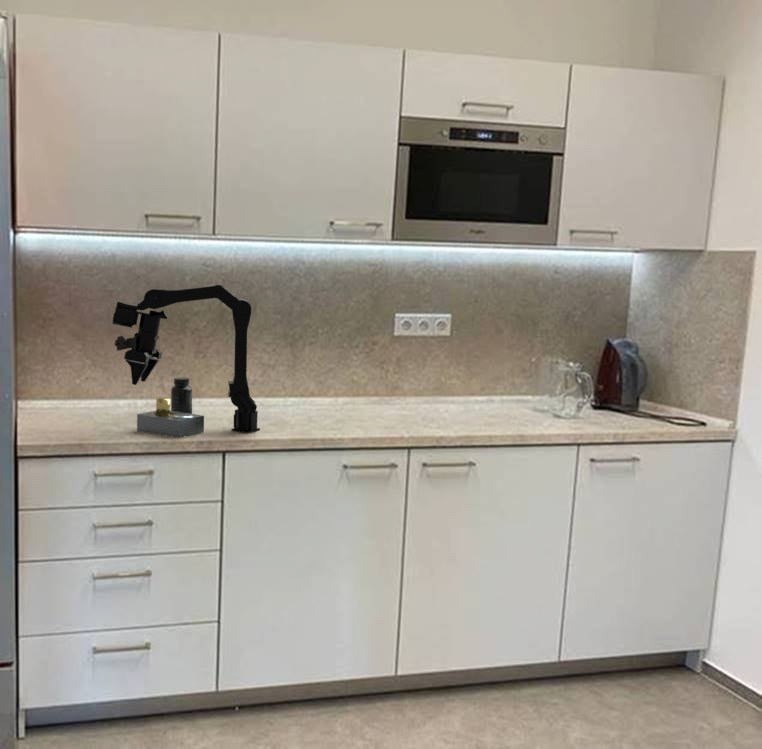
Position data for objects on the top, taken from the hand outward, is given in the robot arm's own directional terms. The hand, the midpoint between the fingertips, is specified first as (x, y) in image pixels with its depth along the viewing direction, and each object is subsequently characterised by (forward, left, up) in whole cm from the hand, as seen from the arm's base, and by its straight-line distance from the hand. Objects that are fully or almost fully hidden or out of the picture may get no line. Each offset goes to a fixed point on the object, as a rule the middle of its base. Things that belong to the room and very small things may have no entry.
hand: (138, 382), depth 255 cm
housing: (-8, -5, -14) cm, 17 cm away
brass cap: (-5, -5, -13) cm, 14 cm away
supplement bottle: (+8, -28, -14) cm, 33 cm away
